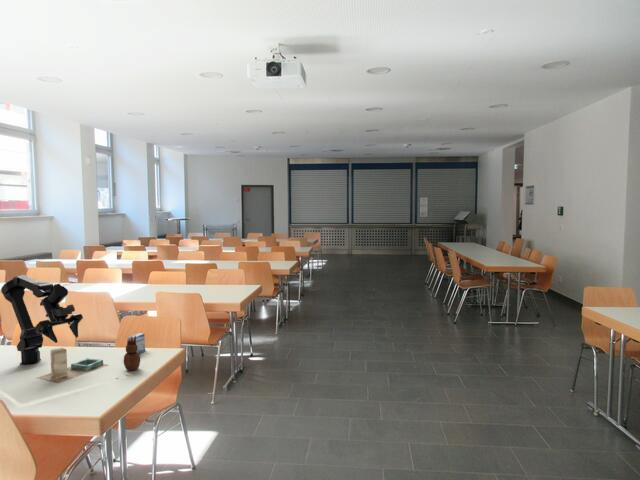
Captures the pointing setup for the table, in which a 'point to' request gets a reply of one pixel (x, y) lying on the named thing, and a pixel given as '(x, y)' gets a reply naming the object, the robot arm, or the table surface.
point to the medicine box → (139, 341)
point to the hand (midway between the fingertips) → (67, 339)
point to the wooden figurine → (131, 355)
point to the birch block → (58, 363)
